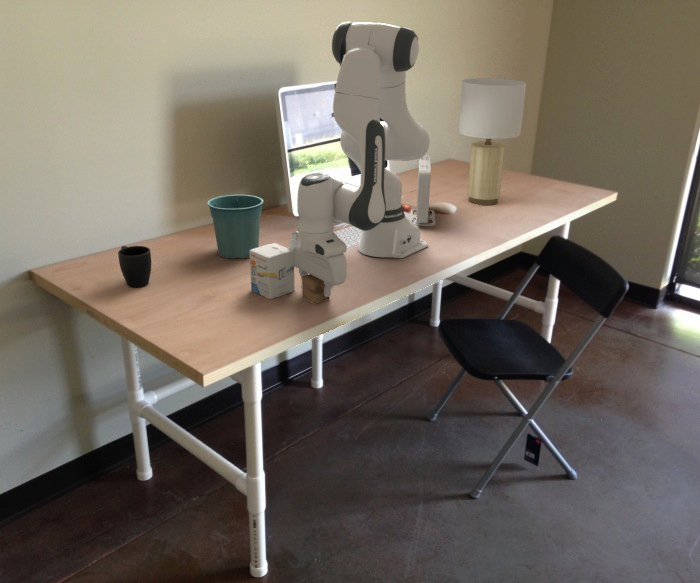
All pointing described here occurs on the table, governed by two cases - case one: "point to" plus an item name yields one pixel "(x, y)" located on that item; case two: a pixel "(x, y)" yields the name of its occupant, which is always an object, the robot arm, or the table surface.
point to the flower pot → (236, 224)
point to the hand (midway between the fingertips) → (316, 290)
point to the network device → (424, 193)
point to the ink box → (272, 270)
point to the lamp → (489, 131)
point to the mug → (135, 265)
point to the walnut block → (313, 289)
